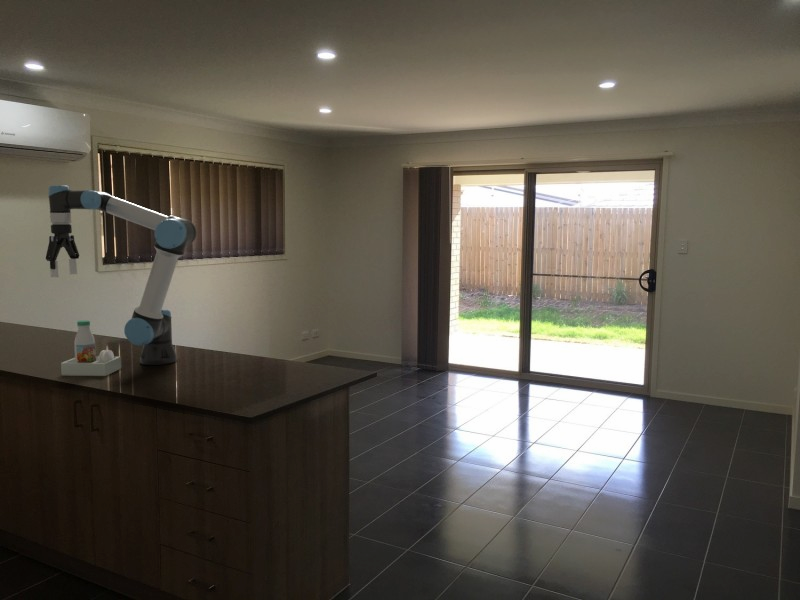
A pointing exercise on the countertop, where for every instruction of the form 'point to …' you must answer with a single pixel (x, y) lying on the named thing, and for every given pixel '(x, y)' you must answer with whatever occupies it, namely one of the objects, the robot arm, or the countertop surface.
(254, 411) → the countertop surface
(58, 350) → the countertop surface
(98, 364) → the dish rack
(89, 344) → the milk bottle
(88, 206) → the robot arm
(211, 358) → the countertop surface
